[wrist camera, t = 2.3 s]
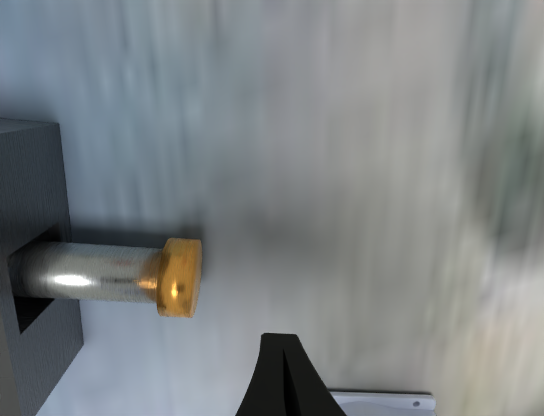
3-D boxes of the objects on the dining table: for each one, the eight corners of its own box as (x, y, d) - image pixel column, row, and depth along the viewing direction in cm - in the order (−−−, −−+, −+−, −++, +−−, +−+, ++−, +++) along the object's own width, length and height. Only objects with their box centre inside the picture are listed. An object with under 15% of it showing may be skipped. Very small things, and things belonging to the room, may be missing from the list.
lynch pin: (202, 227, 19) (189, 262, 15) (201, 289, 20) (188, 334, 16) (-34, 211, 18) (-111, 244, 14) (-19, 276, 19) (-87, 322, 15)
